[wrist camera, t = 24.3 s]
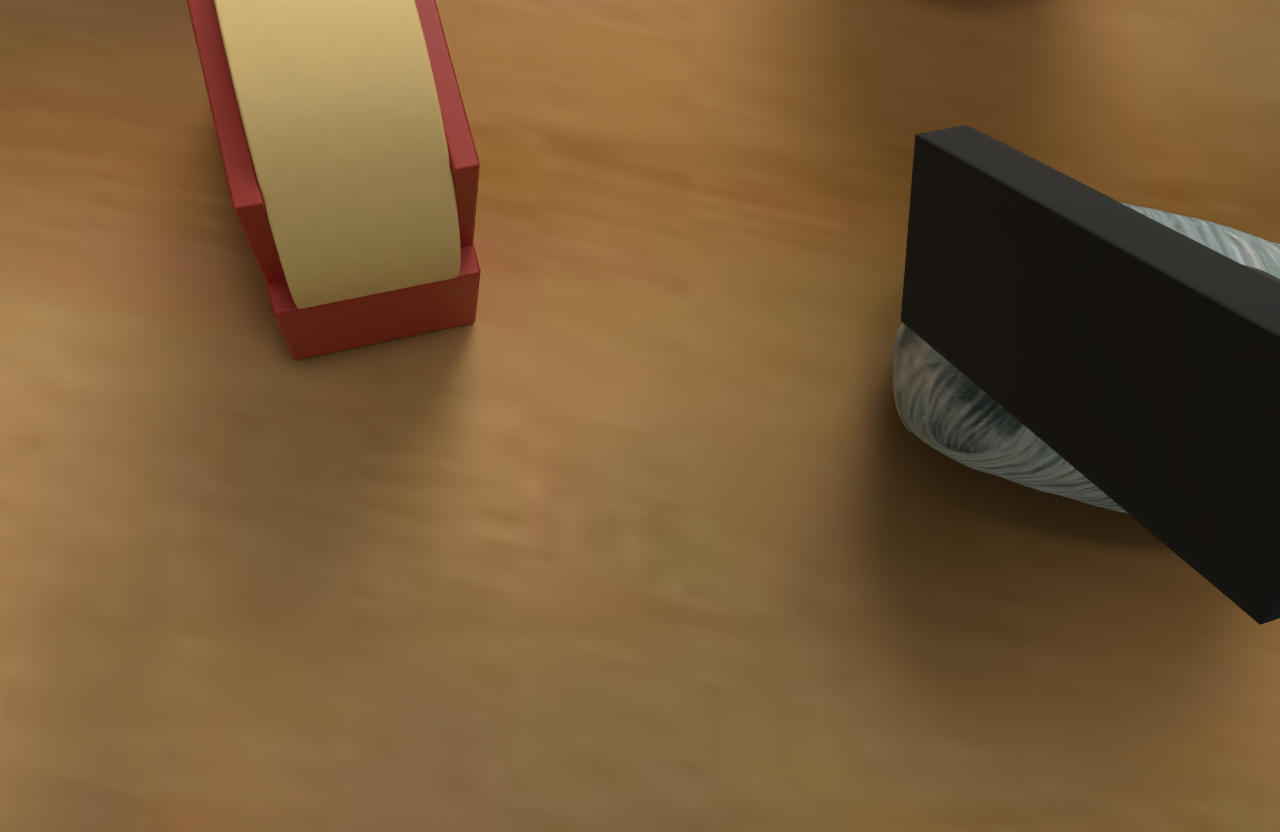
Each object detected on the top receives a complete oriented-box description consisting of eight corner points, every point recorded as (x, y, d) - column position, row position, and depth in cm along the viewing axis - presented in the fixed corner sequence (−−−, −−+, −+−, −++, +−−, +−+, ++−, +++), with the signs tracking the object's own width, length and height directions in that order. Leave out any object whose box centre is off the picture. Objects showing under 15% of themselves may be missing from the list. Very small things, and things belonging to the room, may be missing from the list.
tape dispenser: (404, 50, 33) (392, -192, 24) (477, 329, 31) (494, 185, 22) (228, 75, 32) (144, -169, 22) (295, 368, 30) (233, 232, 21)
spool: (843, 506, 28) (1149, 259, 22) (827, 272, 35) (1060, 25, 28) (1202, 664, 33) (1549, 499, 26) (1129, 431, 39) (1393, 250, 32)
